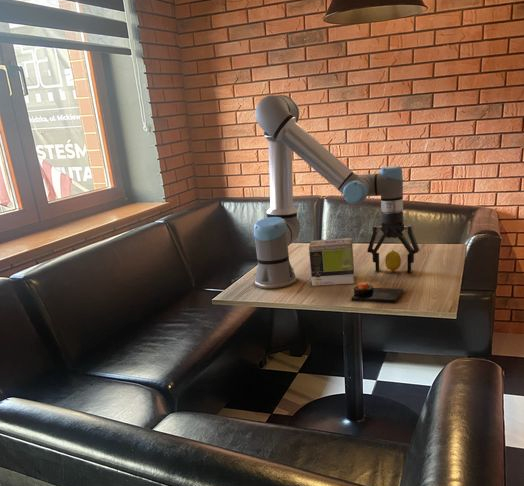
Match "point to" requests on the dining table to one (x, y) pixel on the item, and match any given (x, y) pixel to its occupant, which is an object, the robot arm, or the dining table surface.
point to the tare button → (363, 285)
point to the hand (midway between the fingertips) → (393, 271)
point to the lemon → (393, 260)
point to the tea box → (331, 261)
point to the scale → (376, 294)
